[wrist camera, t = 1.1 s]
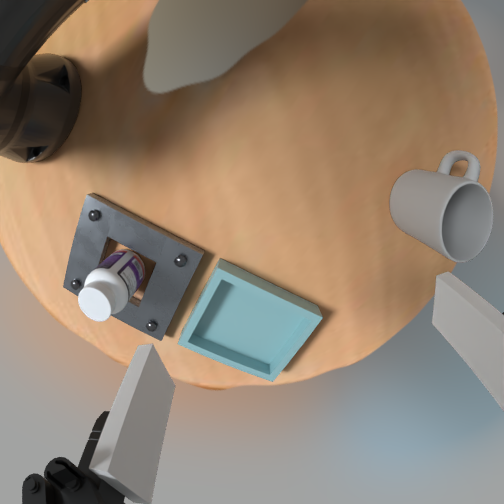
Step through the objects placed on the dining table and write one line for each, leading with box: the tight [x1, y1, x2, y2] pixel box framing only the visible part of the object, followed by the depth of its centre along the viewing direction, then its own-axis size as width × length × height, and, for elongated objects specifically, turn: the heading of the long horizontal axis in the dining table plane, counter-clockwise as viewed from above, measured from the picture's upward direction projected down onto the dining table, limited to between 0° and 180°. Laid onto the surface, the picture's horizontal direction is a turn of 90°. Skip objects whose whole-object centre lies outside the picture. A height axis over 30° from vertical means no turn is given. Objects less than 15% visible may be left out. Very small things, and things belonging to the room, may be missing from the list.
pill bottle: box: [78, 249, 145, 321], centre depth 30 cm, size 5×5×10 cm
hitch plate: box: [63, 193, 205, 341], centre depth 34 cm, size 16×14×2 cm
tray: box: [178, 258, 323, 382], centre depth 36 cm, size 14×12×3 cm
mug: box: [389, 150, 494, 263], centre depth 27 cm, size 12×8×11 cm
